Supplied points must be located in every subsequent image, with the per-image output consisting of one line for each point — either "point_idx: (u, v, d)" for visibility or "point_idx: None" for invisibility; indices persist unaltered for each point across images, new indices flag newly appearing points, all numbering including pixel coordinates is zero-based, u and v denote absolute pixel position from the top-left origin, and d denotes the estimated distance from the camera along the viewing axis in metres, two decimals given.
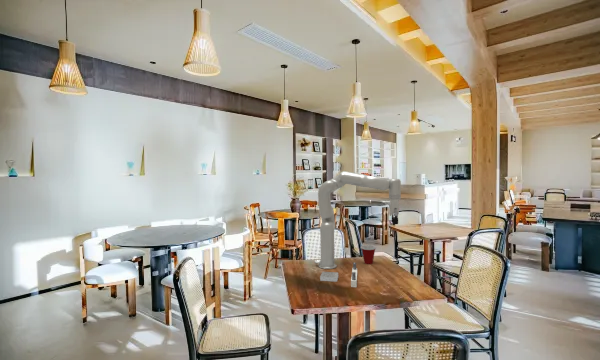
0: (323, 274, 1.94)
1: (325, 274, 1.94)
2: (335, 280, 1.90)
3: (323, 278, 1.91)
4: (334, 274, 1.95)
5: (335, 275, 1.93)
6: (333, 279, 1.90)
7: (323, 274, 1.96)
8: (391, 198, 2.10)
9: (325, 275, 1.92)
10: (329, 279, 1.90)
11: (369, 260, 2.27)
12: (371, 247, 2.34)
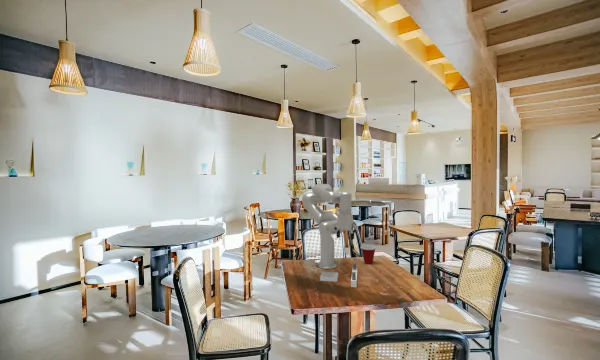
0: (323, 274, 1.94)
1: (325, 274, 1.94)
2: (335, 280, 1.90)
3: (323, 278, 1.91)
4: (334, 274, 1.95)
5: (335, 275, 1.93)
6: (333, 279, 1.90)
7: (323, 274, 1.96)
8: (347, 213, 1.99)
9: (325, 275, 1.92)
10: (329, 279, 1.90)
11: (369, 260, 2.27)
12: (371, 247, 2.34)
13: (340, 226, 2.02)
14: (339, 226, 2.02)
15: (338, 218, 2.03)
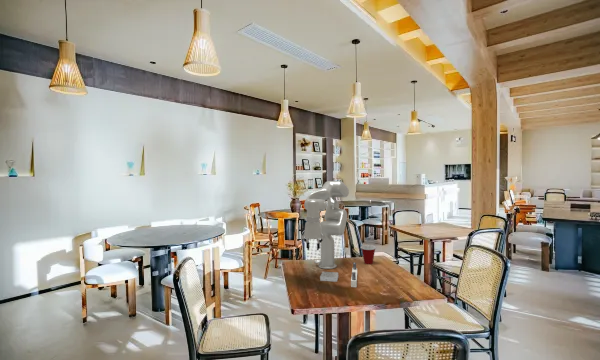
0: (323, 274, 1.94)
1: (325, 274, 1.94)
2: (335, 280, 1.90)
3: (323, 278, 1.91)
4: (334, 274, 1.95)
5: (335, 275, 1.93)
6: (333, 279, 1.90)
7: (323, 274, 1.96)
8: (317, 221, 1.94)
9: (325, 275, 1.92)
10: (329, 279, 1.90)
11: (369, 260, 2.27)
12: (371, 247, 2.34)
13: (309, 235, 1.95)
14: (308, 235, 1.95)
15: (306, 227, 1.95)
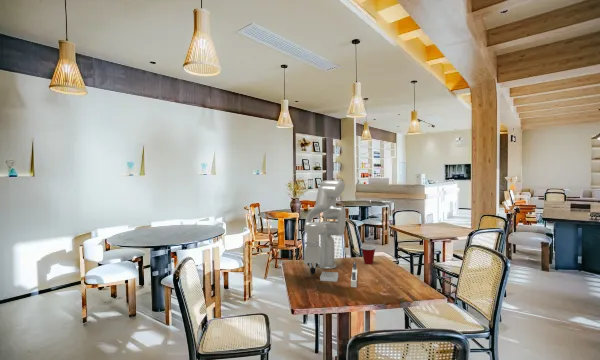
0: (323, 274, 1.94)
1: (325, 274, 1.94)
2: (335, 280, 1.90)
3: (323, 277, 1.91)
4: (334, 274, 1.95)
5: (335, 275, 1.93)
6: (333, 279, 1.90)
7: (323, 274, 1.96)
8: (316, 245, 1.94)
9: (325, 275, 1.92)
10: (329, 279, 1.90)
11: (369, 260, 2.27)
12: (371, 247, 2.33)
13: (308, 259, 1.95)
14: (307, 260, 1.95)
15: (306, 251, 1.95)
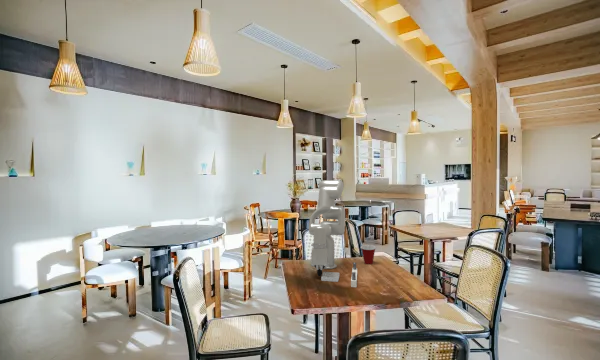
0: (324, 275, 1.94)
1: (326, 274, 1.94)
2: (336, 280, 1.90)
3: (324, 278, 1.91)
4: (335, 274, 1.95)
5: (336, 275, 1.93)
6: (334, 279, 1.90)
7: (325, 274, 1.96)
8: (323, 247, 1.93)
9: (326, 276, 1.92)
10: (330, 279, 1.90)
11: (369, 260, 2.27)
12: (371, 247, 2.34)
13: (315, 261, 1.94)
14: (314, 262, 1.94)
15: (313, 253, 1.95)
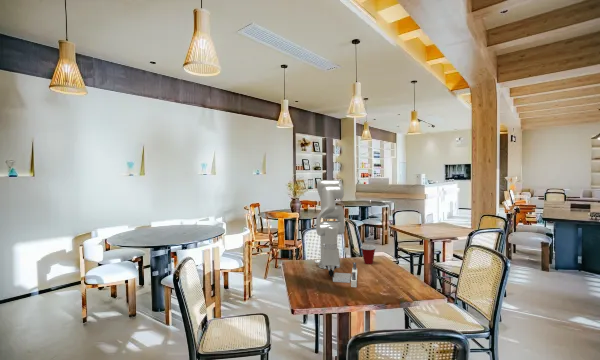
0: (336, 275, 1.93)
1: (338, 275, 1.93)
2: (348, 281, 1.88)
3: (335, 279, 1.89)
4: (347, 275, 1.93)
5: (348, 276, 1.91)
6: (346, 280, 1.88)
7: (336, 275, 1.94)
8: (335, 248, 1.92)
9: (337, 277, 1.90)
10: (342, 280, 1.88)
11: (369, 260, 2.27)
12: (371, 247, 2.34)
13: (327, 262, 1.93)
14: (326, 262, 1.93)
15: (324, 254, 1.93)
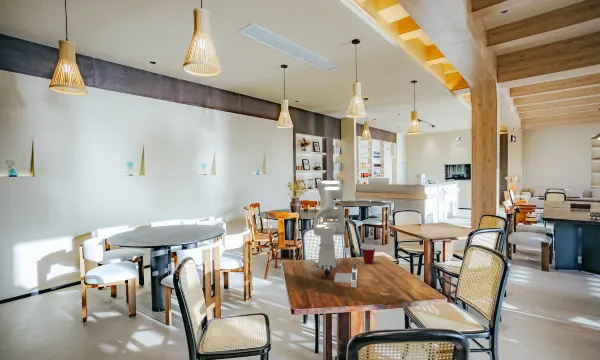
0: (337, 276, 1.92)
1: (339, 276, 1.92)
2: (349, 281, 1.87)
3: (337, 279, 1.89)
4: (348, 275, 1.93)
5: (349, 276, 1.91)
6: (347, 280, 1.87)
7: (337, 275, 1.93)
8: (331, 248, 1.93)
9: (339, 277, 1.90)
10: (343, 280, 1.88)
11: (369, 260, 2.27)
12: (371, 247, 2.33)
13: (323, 262, 1.93)
14: (322, 262, 1.93)
15: (320, 254, 1.94)
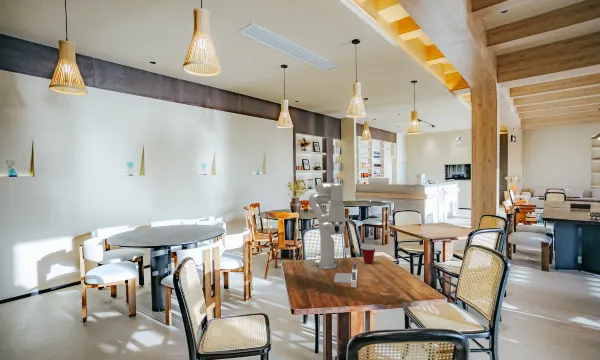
0: (337, 276, 1.92)
1: (339, 276, 1.92)
2: (349, 281, 1.87)
3: (337, 279, 1.89)
4: (348, 275, 1.93)
5: (349, 276, 1.91)
6: (347, 280, 1.87)
7: (337, 275, 1.93)
8: (341, 204, 1.99)
9: (339, 277, 1.90)
10: (343, 280, 1.88)
11: (369, 260, 2.27)
12: (371, 247, 2.34)
13: (333, 218, 2.00)
14: (332, 218, 2.00)
15: (330, 210, 2.00)
